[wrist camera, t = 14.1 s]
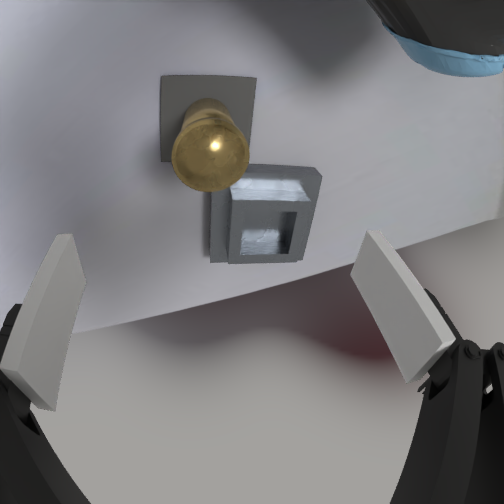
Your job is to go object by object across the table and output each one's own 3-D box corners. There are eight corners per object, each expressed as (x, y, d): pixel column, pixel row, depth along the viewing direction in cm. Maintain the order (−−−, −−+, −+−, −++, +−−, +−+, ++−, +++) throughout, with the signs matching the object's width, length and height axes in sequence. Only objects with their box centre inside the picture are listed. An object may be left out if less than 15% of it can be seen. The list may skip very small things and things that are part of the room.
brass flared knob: (182, 95, 31) (171, 120, 20) (234, 96, 32) (253, 121, 21) (181, 142, 34) (172, 192, 23) (230, 143, 35) (245, 192, 24)
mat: (162, 75, 29) (161, 76, 29) (255, 77, 31) (256, 78, 31) (161, 160, 36) (161, 161, 35) (247, 160, 38) (247, 161, 37)
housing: (212, 163, 37) (214, 182, 33) (314, 167, 40) (331, 186, 35) (209, 250, 46) (211, 276, 41) (297, 248, 48) (308, 273, 44)
